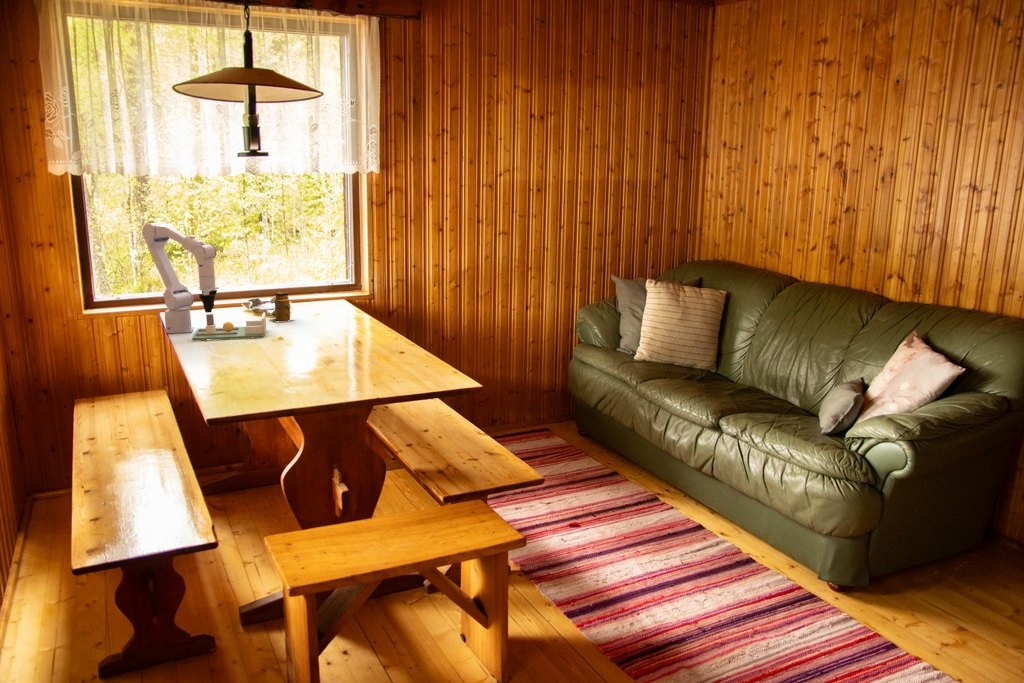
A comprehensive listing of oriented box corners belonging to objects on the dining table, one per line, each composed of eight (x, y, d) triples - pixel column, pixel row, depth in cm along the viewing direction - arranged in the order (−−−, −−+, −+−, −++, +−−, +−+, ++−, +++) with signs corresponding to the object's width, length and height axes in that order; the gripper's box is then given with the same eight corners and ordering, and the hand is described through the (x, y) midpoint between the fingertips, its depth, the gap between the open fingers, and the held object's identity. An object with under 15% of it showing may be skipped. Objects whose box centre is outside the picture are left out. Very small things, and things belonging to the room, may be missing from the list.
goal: (245, 334, 317) (244, 319, 316) (246, 328, 329) (245, 313, 327) (265, 333, 319) (264, 318, 318) (266, 327, 330) (265, 312, 329)
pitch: (192, 340, 310) (191, 336, 310) (197, 330, 327) (197, 326, 327) (263, 337, 316) (263, 333, 316) (265, 328, 333) (264, 323, 333)
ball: (222, 333, 319) (222, 323, 318) (223, 331, 323) (222, 321, 322) (233, 332, 320) (232, 322, 319) (234, 330, 324) (233, 320, 323)
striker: (206, 333, 316) (204, 316, 315) (207, 330, 322) (206, 313, 321) (214, 333, 317) (213, 315, 316) (215, 330, 323) (214, 313, 321)
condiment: (294, 320, 349) (292, 292, 347) (276, 323, 344) (274, 295, 341) (285, 317, 354) (284, 290, 352) (267, 320, 349) (266, 292, 346)
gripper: (216, 278, 309) (218, 313, 312) (219, 272, 322) (221, 306, 326) (196, 278, 307) (199, 314, 310) (200, 273, 321) (203, 307, 324)
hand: (209, 310), depth 318 cm, fingers open, 7 cm apart
